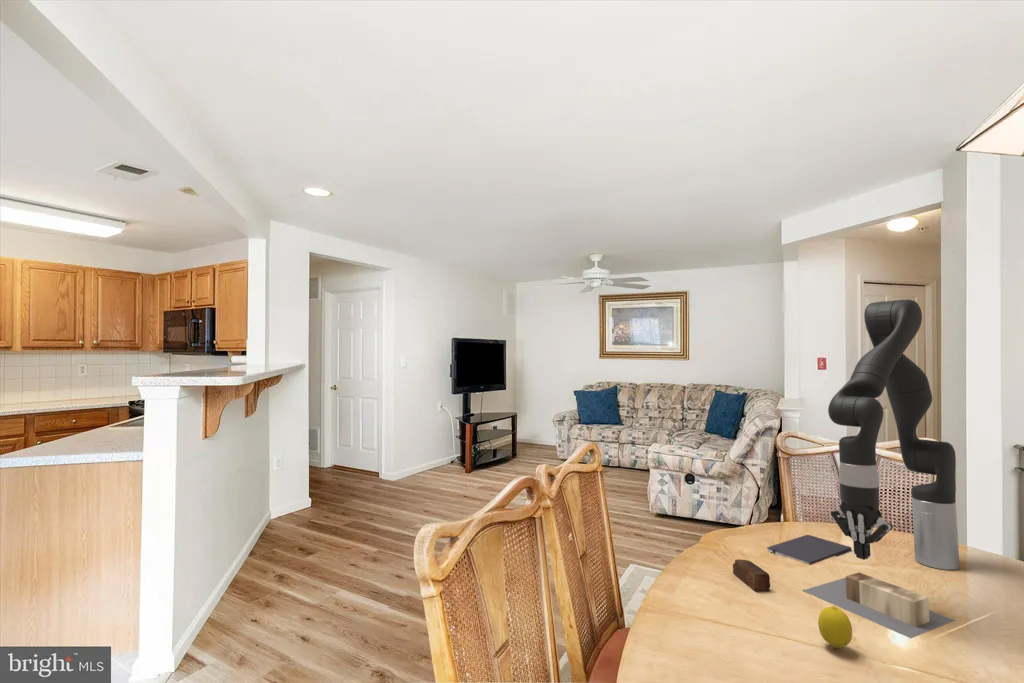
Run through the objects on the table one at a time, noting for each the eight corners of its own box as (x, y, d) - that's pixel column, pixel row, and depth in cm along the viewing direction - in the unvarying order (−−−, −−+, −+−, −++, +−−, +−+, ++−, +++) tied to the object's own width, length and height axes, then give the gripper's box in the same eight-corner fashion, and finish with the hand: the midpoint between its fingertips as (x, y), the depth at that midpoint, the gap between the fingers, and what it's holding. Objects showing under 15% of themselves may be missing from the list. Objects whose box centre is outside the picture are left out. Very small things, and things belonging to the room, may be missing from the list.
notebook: (809, 568, 134) (851, 552, 144) (809, 562, 134) (851, 547, 144) (765, 553, 145) (807, 539, 156) (765, 547, 145) (807, 534, 156)
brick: (771, 593, 119) (770, 573, 119) (755, 594, 119) (754, 574, 119) (747, 575, 130) (746, 556, 130) (732, 575, 129) (731, 557, 130)
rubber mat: (844, 579, 126) (844, 577, 126) (955, 621, 105) (955, 620, 105) (802, 592, 119) (802, 590, 119) (910, 640, 98) (910, 638, 98)
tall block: (859, 572, 117) (928, 597, 104) (860, 593, 117) (929, 621, 104) (845, 576, 115) (914, 602, 102) (846, 598, 115) (915, 627, 102)
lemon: (812, 641, 98) (810, 600, 99) (838, 639, 99) (837, 598, 99) (833, 657, 93) (831, 614, 93) (860, 655, 93) (858, 612, 94)
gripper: (900, 486, 110) (904, 565, 110) (840, 475, 123) (843, 546, 122) (879, 490, 107) (883, 572, 107) (820, 478, 119) (823, 551, 119)
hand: (862, 558), depth 114 cm, fingers closed
